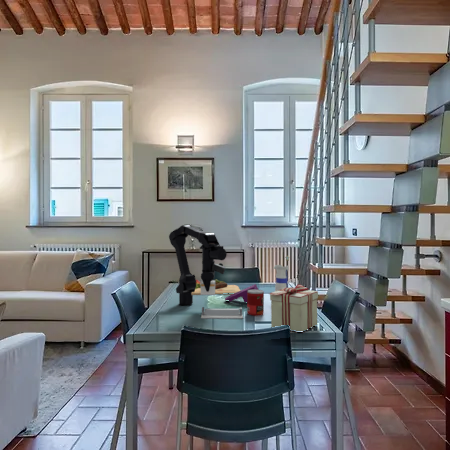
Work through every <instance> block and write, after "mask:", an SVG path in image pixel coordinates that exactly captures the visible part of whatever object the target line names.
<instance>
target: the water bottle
mask: <svg viewBox="0 0 450 450" xmlns="http://www.w3.org/2000/svg"><path fill="white" fill-rule="evenodd" d="M284 259H285V261H289V260H290V259H291V258H290V256H288V255H286V256H285V258H284ZM272 269H274V270H276V274H275V278H276V279H275V284H274V285H275V286H274V287H275V288H274V292H275V291H278V290H280V289H284V288H289V283H288V279H289V275H288V272H289V271H290V268H289V265H286V266H283V265H282V264H275V265H274V267H273V268H272Z"/></svg>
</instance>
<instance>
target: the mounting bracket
mask: <svg viewBox="0 0 450 450" xmlns="http://www.w3.org/2000/svg"><path fill="white" fill-rule="evenodd" d="M252 289H257V290H259V288H258V285H257V284H256V283H254V284H252V285H250V286H248V287H245V288H244V289H240V290H241V291H239V292H236V293H234V294H229V295H228V296H226V297H224V300H225V301H226V300H229V301H230V302H232V301H235V300H237V299H240V298H242V300H243V302H244V303H245V302H247V292H248V290H252Z"/></svg>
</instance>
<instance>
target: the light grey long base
mask: <svg viewBox="0 0 450 450" xmlns="http://www.w3.org/2000/svg"><path fill="white" fill-rule="evenodd" d="M243 316H244V315H243V308H242V306H241V307H239V308H205V307H204V306H203V307H201V315H200V319H244V317H243Z"/></svg>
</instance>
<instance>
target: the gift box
mask: <svg viewBox="0 0 450 450" xmlns="http://www.w3.org/2000/svg"><path fill="white" fill-rule="evenodd" d="M269 299H270V305H271V307H270V313H271V315H270V317H271V318H270V320H271V323H270V324H271V328H272V327H275V326H281V325H289V326H290V329H291V330H296V331H304V330H307V329H309V328H311V327H313V326H315V325H317V326H318V299H319V292H318V291H317V290H310V289H309V288H307V287H305V286H303V285H302V284H296V286H295V287H293V286H292V287H290V286H288V288H284V289H280V290H278V291H275V290H274V291H272V292H270V293H269ZM315 327H316V326H315ZM313 328H314V327H313ZM311 329H312V328H311ZM309 330H310V329H309ZM307 331H308V330H307Z"/></svg>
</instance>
